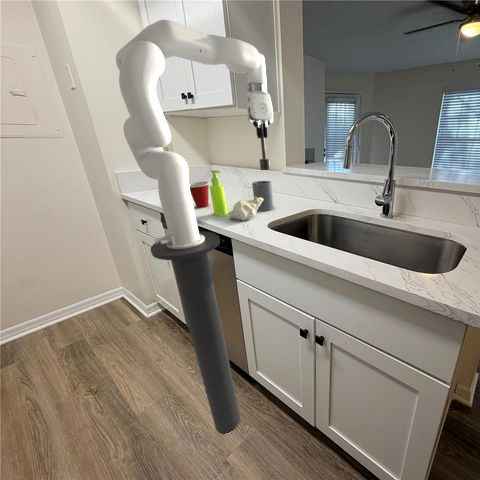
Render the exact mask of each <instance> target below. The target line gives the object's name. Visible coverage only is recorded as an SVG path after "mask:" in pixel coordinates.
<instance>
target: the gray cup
mask: <svg viewBox="0 0 480 480" xmlns="http://www.w3.org/2000/svg"><path fill="white" fill-rule="evenodd" d="M251 186H252V187H251V188H252V194H253V200H255V199H256V198H259V197H261V198H263V200H264V201H263V202H262V203H261V205H260V206H259V207H258V210H257V212H267V211H268V212H269V211H273V210H274V198H273V197H274V196H273V185H272V181H270V180H257V181H253V182H252V183H251Z"/></svg>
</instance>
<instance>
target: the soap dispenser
mask: <svg viewBox="0 0 480 480" xmlns="http://www.w3.org/2000/svg"><path fill="white" fill-rule="evenodd" d="M210 173H212V177H211V178H210V180H211V185H209V191H210V197H211V201H212V208H213V213H214V215H215V216H218V217H220V216H225V215H228V213H229V211H228V206H227V199H226V192H225V187H224V185H223V184H221V181H220V177H218V174H220V173H221V171H220V170H217V169H213V170H210Z"/></svg>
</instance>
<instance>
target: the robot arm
mask: <svg viewBox="0 0 480 480" xmlns="http://www.w3.org/2000/svg"><path fill="white" fill-rule="evenodd" d="M172 57H177V58H181V59H184V60H188V61H192V62H195V63H199V64H203V65H208V66H217V65H225V66H226V68H227V69H228V70H229V71H230V72H231V73H234V74H242V75H243V74H246V78H247V84H246V85H245V89H246V90H247V91H248V93H247V97H246V106H247V107H246V109H247V122H248V123H250V124H251V125H253V127H254V128H255V131H256V136H257V139H261V138H263V135H262V128H261V126H260V124H263V128H264V139H268V128H269V126H270V125H271V124H273V123H274V110H273V103H272V99H271V95H270V93H268V81H267V71H266V69H267V68H266V58H265V55H264V54H262V53H261V52H259V50H258V49H257V48H256V47H255V46H254V45H252V44H251V43H248V42H246V41H243V40H242V39H241V40H240V39H238V38H233V37H229V36H221V35H216V34H209V33H205V32H202V31H200V30H197V29H194V28H191V27H189V26H186V25H184V24H181V23H178V22H175V21H173V20H169V19H159V20H157V21H155V22H153V23H150V24H149V25H147V26H146V27H144V28H143V29H142V30H140V32H139V33H138V34H137V35H136V36H134V37H133V38H132V39H131V40H130V41H128V42H127V43H126V44H125V45H124V46H123V47H121V48H120V49H119V50H118V51H117V53H116V55H115V64H116V67H117V69H118V70H119V74H118V83H119V84H118V85H119V90H120V94H121V97H122V100H123V101H124V104H125V107H126V109H127V112H128V114H129V117H128V118H127V119H125V121H124V123H123V134H124V138H125V140H126V142H127V145H128V147H129V149H130V151H131V153H132V155H133V157H134V160H135V162H136V164H137V166H138V167H139V169H140V171H141V172H142V173H143V174H144V175H145V176H146V177H148V178H149V179H153V180H156V181H157V184H158V185H157V189H158V197H159V201H160V205H161V209H162V213H163V217H164V220H165V224H166V228H167V232H166V233H165V235H163V236H162V237H155V238H153V241H154V244H159V243H161V244H166V245H167V247H168V248H170V249H186V248H191V247H194V246H197V245H199V244H201V243H203V242H204V240H205V237H204V236H203V235H201V234H199V231H200V230H199V227H198V221H197V217H196V212H195V206H194V201H193V197H192V195H191V192H190V186H189V184H190V169H189V165H188V163H187V161H186V160H185V158H184V157H183V156H182V155H180V154H179V153H176V152H174V151H167V150H164V148H163V147H166V146H168V145H169V144H170V143H171V141H172V133H171V130H170V127H169V125H168V122H167V119H166V117H165V115H164V112H163V110H162V107H161V104H160V101H159V98H158V95H157V84H158V80H159V78H160V76H162V75H163V73H164V71H165V67H166V59H169V58H172Z"/></svg>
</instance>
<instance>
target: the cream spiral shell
mask: <svg viewBox="0 0 480 480" xmlns="http://www.w3.org/2000/svg"><path fill="white" fill-rule="evenodd" d="M263 201H264V200H263V198H261V197H259V198H256V199H255V200H254V199H250V200H238V201H237V202H236V203H235V205H233V208H232V210H231V211H228V213H227V214H226V215H227V216H226V217H227V219H229V220H241V221H247V220H248V221H250V220H251V219H253V218H255V217H256V215H257V212H258V211H257V210H258V207H259V206H260V205H261V203H262V202H263Z"/></svg>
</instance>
